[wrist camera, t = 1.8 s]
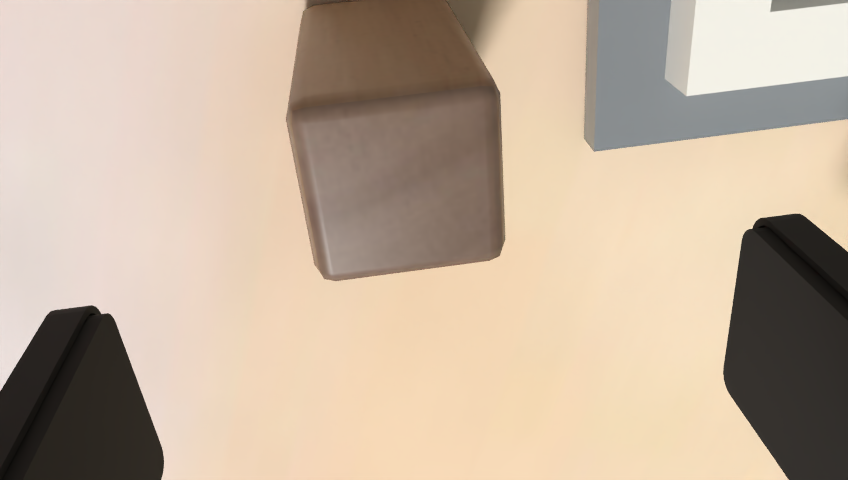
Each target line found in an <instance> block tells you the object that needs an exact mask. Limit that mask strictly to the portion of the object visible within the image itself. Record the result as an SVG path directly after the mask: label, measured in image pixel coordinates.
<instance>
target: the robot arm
mask: <svg viewBox="0 0 848 480" xmlns="http://www.w3.org/2000/svg"><path fill="white" fill-rule="evenodd" d="M723 374H724V381H725V385H726V388H727V390H728V392H729V394H730V395H731V397H732V398H733V400H734V401H735V403H736V404H737V406H738V407H739V408H740V410H741V411H742V413H743V414H744V416H745V417H746V419H747V420H748V421H749V423H750V424H751V426H752V427H753V429H754V430H755V431H756V433H757V434H758V436H759V437H760V439H761V440H762V442H763V443H764V444H765V446H766V447H767V449H768V450H769V452H770V453H771V455H772V456H773V457H774V459H775V460H776V462H777V463H778V465H779V466H780V467H781V469H782V470H783V472H784V473H785V475H786V476H787V478H788V479H789V480H848V252H847V251H846V250H845V249H844V248H842V247H841V246H840V245H839V244H838V243H836V242H835V241H834V240H833V239H831V238H830V237H829V236H828V235H827V234H825V233H824V232H823V231H822V230H821V229H819V228H818V227H817V226H816V225H814V224H813V223H812V222H811V221H810V220H808V219H807V218H806V217H805V216H803V215H801V214H790V215H782V216H774V217H767V218H760V219H758V220H757V221H756V222H755V224H754V226H753V229H749V230H747V231H745V233H744V235H743V238H742V244H741V251H740V258H739V265H738V271H737V278H736V285H735V292H734V299H733V306H732V313H731V320H730V327H729V334H728V341H727V348H726V355H725V362H724V371H723ZM163 468H164V457H163V450H162V447H161V444H160V441H159V439H158V436H157V433H156V430H155V428H154V425H153V422H152V420H151V417H150V414H149V412H148V409H147V406H146V403H145V401H144V398H143V395H142V393H141V390H140V387H139V385H138V382H137V379H136V376H135V374H134V371H133V368H132V366H131V363H130V360H129V358H128V355H127V352H126V349H125V347H124V344H123V341H122V339H121V336H120V333H119V330H118V328H117V325H116V322H115V320H114V318H113V317H112V316H111V315H110V314H108V313H107V314H101V313H100V311H99V310H98V309H97V308H96V307H95V306H84V307H76V308H69V309H61V310H54V311H51V312H50V313H49V314H48V315H47V316H46V318H45V319H44V321H43V322H42V324H41V326H40V327H39V329H38V331H37V332H36V334H35V336H34V337H33V339H32V340H31V342H30V344H29V345H28V347H27V349H26V350H25V352H24V354H23V355H22V357H21V358H20V360H19V362H18V363H17V365H16V367H15V368H14V370H13V372H12V373H11V375H10V376H9V378H8V380H7V381H6V383H5V385H4V386H3V388H2V390H1V391H0V480H161V478H162V474H163Z"/></svg>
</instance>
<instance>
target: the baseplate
mask: <svg viewBox="0 0 848 480" xmlns="http://www.w3.org/2000/svg"><path fill="white" fill-rule="evenodd" d="M844 119H848V0H588V8H587V47H586V85H585V123H584V139H585V140H586V142H587V143H588V144H589V146H590V147H591V148H592V150H593V151H602V150H610V149H618V148H625V147H633V146H641V145H649V144H657V143H664V142H672V141H680V140H688V139H696V138H704V137H711V136H719V135H727V134H735V133H743V132H750V131H758V130H766V129H774V128H782V127H790V126H797V125H805V124H813V123H821V122H829V121H836V120H844Z"/></svg>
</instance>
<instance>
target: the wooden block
mask: <svg viewBox="0 0 848 480" xmlns="http://www.w3.org/2000/svg"><path fill="white" fill-rule="evenodd" d="M286 122H287V127H288V132H289V137H290V142H291V147H292V152H293V157H294V162H295V168H296V173H297V178H298V183H299V188H300V193H301V198H302V203H303V208H304V213H305V219H306V224H307V229H308V234H309V239H310V244H311V249H312V254H313V259H314V264H315V266H316V267H317V269H318V270H319V271H320V273H321V274H322V276H323V277H324V279H327V280H333V281H339V280H347V279H355V278H362V277H370V276H377V275H385V274H392V273H400V272H407V271H415V270H422V269H430V268H437V267H445V266H452V265H460V264H467V263H475V262H482V261H490V260H492V259H494V258H496V257H498V256H500V253H501V250H502V247H503V244H504V242H505V219H504V191H503V162H502V134H501V105H500V92H499V90H498V88H497V86H496V84H495V82H494V80H493V78H492V76H491V75H490V73H489V71H488V70H487V68H486V66H485V65H484V63H483V61H482V60H481V58H480V56H479V55H478V53H477V51H476V50H475V48H474V46H473V45H472V43H471V41H470V40H469V38H468V36H467V35H466V33H465V31H464V30H463V28H462V26H461V25H460V23H459V21H458V20H457V18H456V16H455V15H454V13H453V11H452V10H451V8H450V6H449V5H448V3H447V1H446V0H358V1H349V2H340V3H331V4H323V5H314V6H312V7H310V8H308V9H306V10H305V11H303V15H302V19H301V24H300V31H299V37H298V44H297V50H296V57H295V64H294V70H293V77H292V83H291V90H290V96H289V103H288V110H287V116H286Z"/></svg>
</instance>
